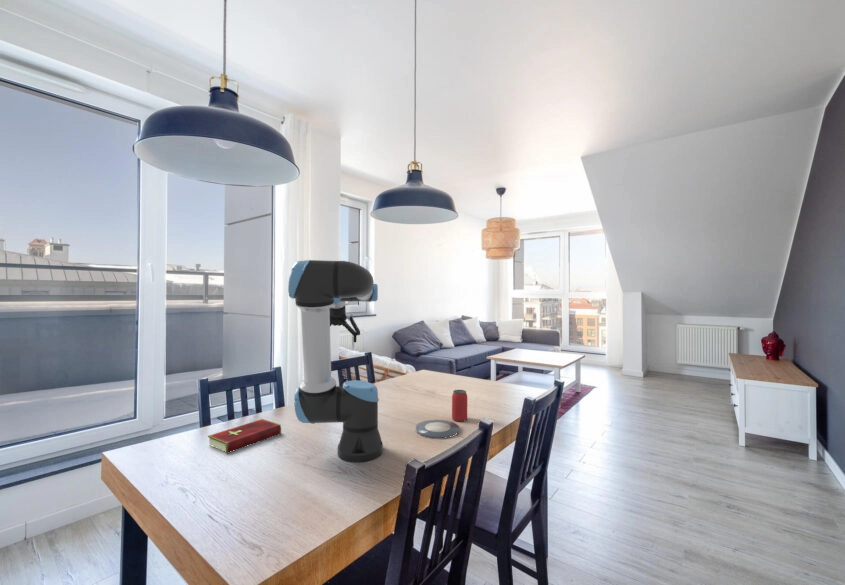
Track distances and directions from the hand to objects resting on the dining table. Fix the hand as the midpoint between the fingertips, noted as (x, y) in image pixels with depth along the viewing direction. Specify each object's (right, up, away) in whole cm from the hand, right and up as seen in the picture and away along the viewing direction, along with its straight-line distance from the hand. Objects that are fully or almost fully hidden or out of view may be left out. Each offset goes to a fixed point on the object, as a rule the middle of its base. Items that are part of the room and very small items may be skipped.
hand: (338, 348), depth 172 cm
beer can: (+55, -28, -14) cm, 63 cm away
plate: (+45, -28, -27) cm, 59 cm away
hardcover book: (-25, -28, -37) cm, 53 cm away
